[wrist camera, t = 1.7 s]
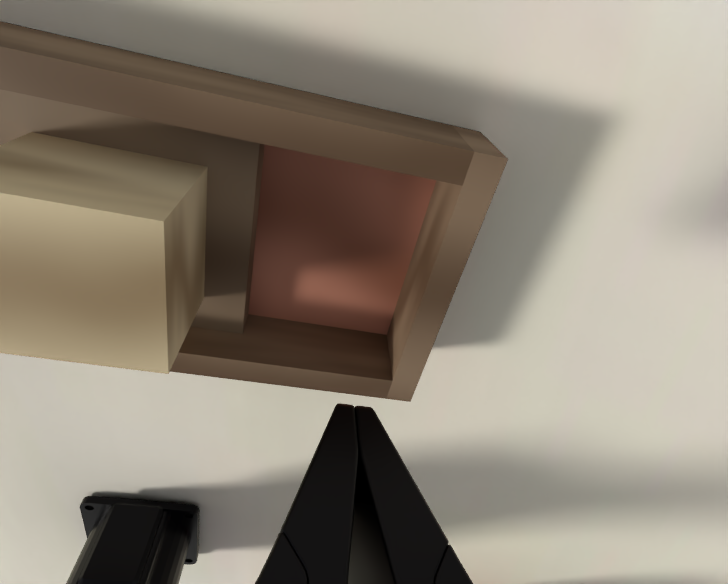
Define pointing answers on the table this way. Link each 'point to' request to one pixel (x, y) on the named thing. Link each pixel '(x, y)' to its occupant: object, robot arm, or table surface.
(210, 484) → the table surface
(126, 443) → the table surface
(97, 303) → the maple block
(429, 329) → the trap channel
